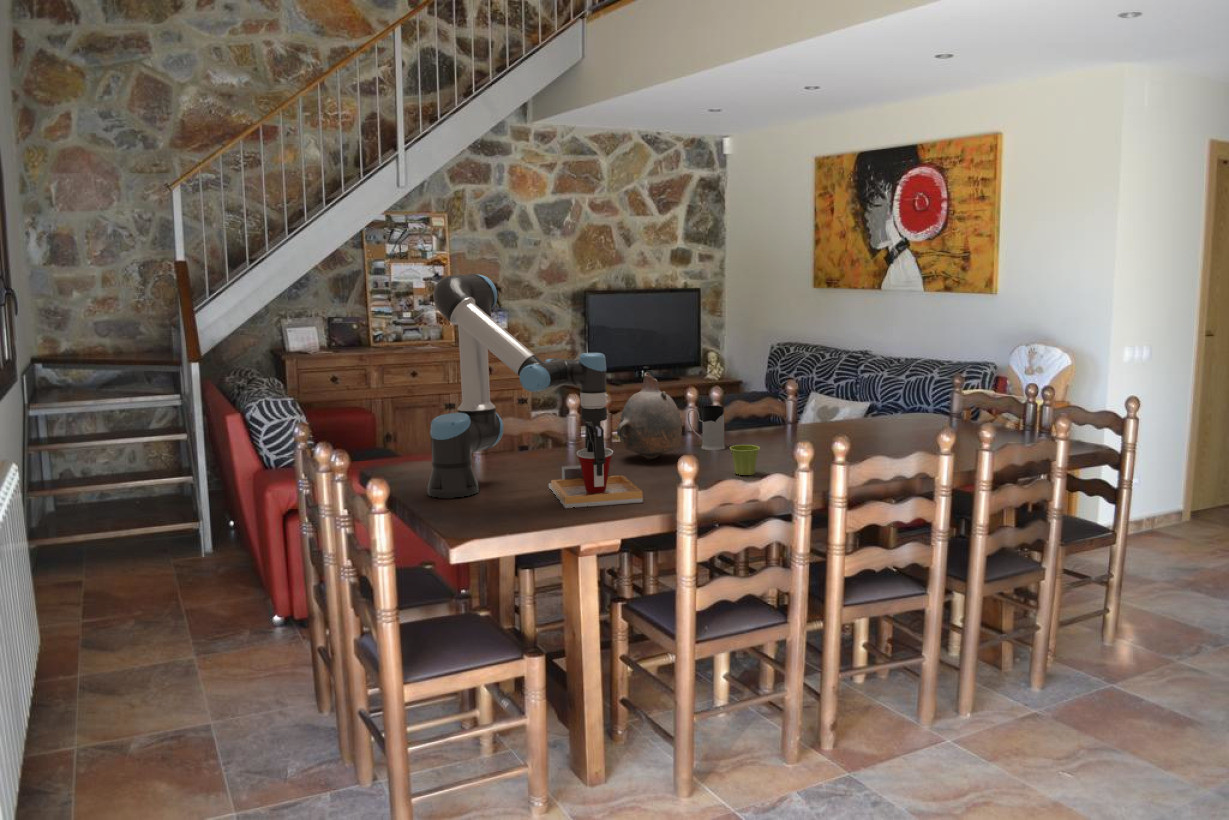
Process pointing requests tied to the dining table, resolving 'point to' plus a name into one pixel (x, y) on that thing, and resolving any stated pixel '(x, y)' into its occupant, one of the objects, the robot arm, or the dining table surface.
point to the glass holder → (711, 427)
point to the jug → (650, 421)
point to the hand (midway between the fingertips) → (595, 482)
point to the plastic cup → (588, 469)
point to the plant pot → (744, 458)
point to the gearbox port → (577, 496)
